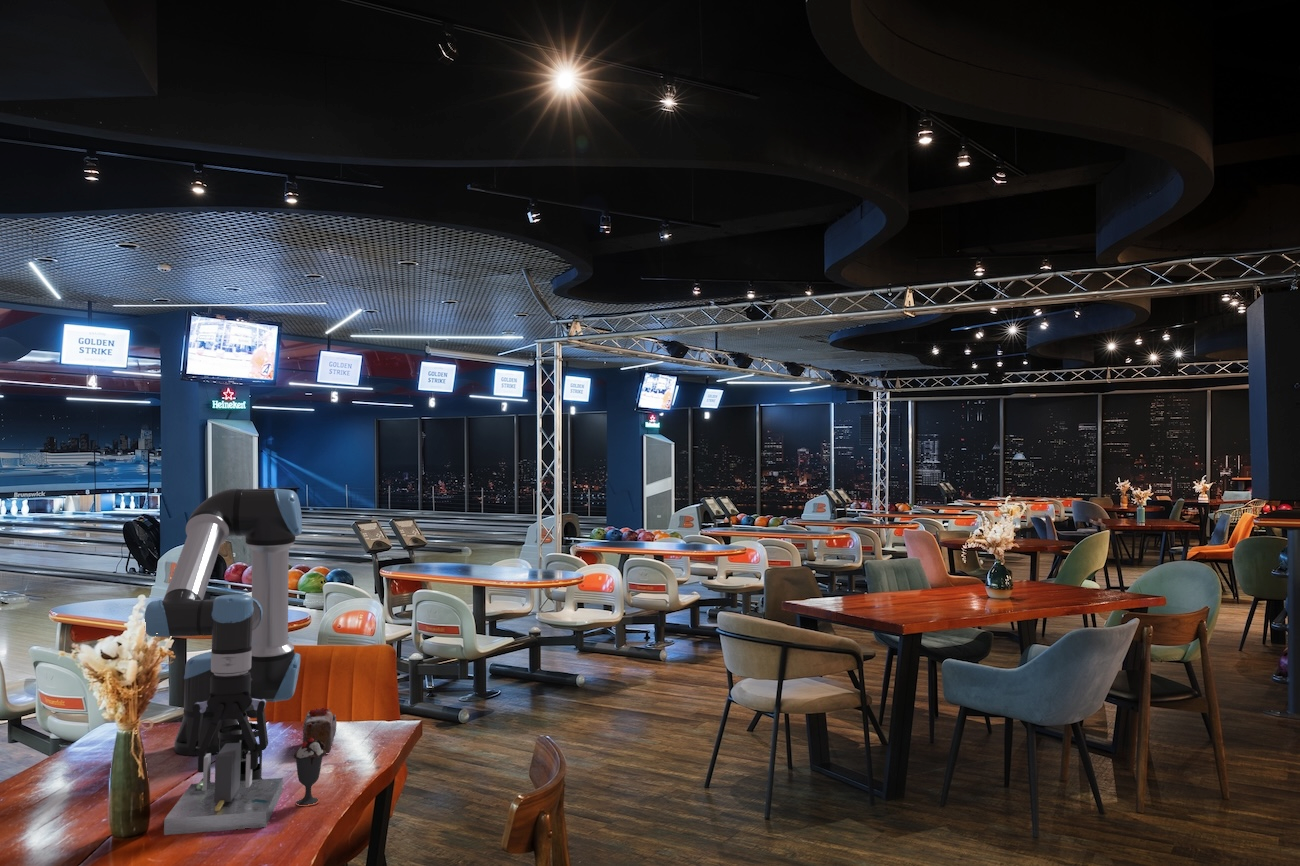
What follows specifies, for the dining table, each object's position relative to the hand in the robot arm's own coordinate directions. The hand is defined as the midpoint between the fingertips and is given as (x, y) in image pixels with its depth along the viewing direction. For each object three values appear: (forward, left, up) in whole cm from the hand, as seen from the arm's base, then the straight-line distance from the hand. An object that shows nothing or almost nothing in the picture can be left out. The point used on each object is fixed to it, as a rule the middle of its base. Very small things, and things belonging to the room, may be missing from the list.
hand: (227, 786), depth 184 cm
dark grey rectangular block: (+2, 0, -2) cm, 3 cm away
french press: (-18, -1, -5) cm, 19 cm away
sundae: (-2, +15, -5) cm, 16 cm away
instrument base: (0, 0, -5) cm, 5 cm away
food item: (-42, +13, -5) cm, 44 cm away
